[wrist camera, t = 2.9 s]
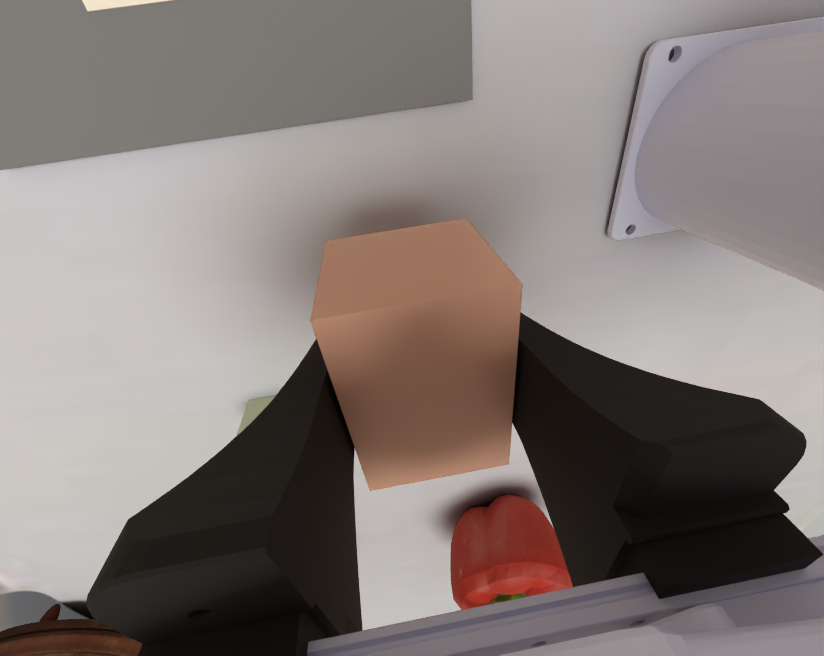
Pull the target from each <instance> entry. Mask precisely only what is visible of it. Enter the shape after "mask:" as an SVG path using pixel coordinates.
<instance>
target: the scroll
mask: <svg viewBox="0 0 824 656" xmlns="http://www.w3.org/2000/svg"><path fill="white" fill-rule="evenodd" d="M59 613H60V605H59V604H56V605H54V606H52V607H51V608H50V609H49V610H48V611H47V612H46V613H45V615H44V616H43V617H42V618H41V620H40V622H36V623H30V624H25V625H21V626H17V627H13V628H10V629H7V630H4V631H1V632H0V656H138V654H139V651H140V649H141V646H142V643H140V642H138V641H136V640H134V639H132V638H130V637H128V636H126V635H124V634H122V633H120V632H118V631H116V630H114V629H112V628H110V627H108V626H106V625H104V624H102V623H101V622H99V621H98V620H95V619H68V620H57V619H58V616H59Z"/></svg>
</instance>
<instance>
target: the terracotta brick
mask: <svg viewBox="0 0 824 656" xmlns="http://www.w3.org/2000/svg"><path fill="white" fill-rule="evenodd" d="M521 297H522V283H521V282H520V281H519V280H518V278H517V277H516V276H515V275H514V274H513V273H512V271H511V270H510V269H509V268H508V267H507V265H506V264H505V263H504V262H503V261H502V260H501V258H500V257H499V256H498V255H497V254H496V252H495V251H494V250H493V249H492V248H491V247H490V245H489V244H488V243H487V242H486V241H485V239H484V238H483V237H482V236H481V235H480V234H479V232H478V231H477V230H476V229H475V228H474V227H473V225H472V224H471V223H470V222H469V221H468V219H467V218H462V219H456V220H450V221H444V222H438V223H432V224H426V225H419V226H413V227H407V228H401V229H395V230H389V231H383V232H376V233H370V234H364V235H358V236H352V237H346V238H339V239H333V240H327V241H326V244H325V249H324V254H323V259H322V264H321V269H320V274H319V279H318V284H317V290H316V295H315V300H314V305H313V310H312V315H311V320H310V321H311V324H312V327H313V330H314V333H315V335H316V338H317V341H318V344H319V347H320V350H321V353H322V355H323V358H324V361H325V364H326V367H327V370H328V373H329V375H330V378H331V381H332V384H333V387H334V390H335V393H336V395H337V398H338V401H339V404H340V407H341V410H342V413H343V415H344V418H345V421H346V424H347V427H348V430H349V433H350V435H351V438H352V441H353V444H354V447H355V450H356V452H357V455H358V458H359V461H360V464H361V467H362V470H363V472H364V475H365V478H366V481H367V484H368V487H369V490H370V491H372V490H377V489H382V488H388V487H393V486H398V485H403V484H409V483H414V482H419V481H424V480H429V479H435V478H440V477H445V476H450V475H455V474H461V473H466V472H471V471H476V470H481V469H487V468H492V467H497V466H502V465H507V464H509V456H510V443H511V430H512V417H513V403H514V390H515V377H516V364H517V350H518V337H519V324H520V311H521Z"/></svg>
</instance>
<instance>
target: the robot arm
mask: <svg viewBox="0 0 824 656" xmlns="http://www.w3.org/2000/svg"><path fill="white" fill-rule="evenodd" d="M672 48H674V55H673V58H672V59H671V60H670V61H669V60H668V57H669V53H670V51H671V50H672ZM629 225H631V227H630V229H629V230H628V231H626V229H627V227H628V226H629ZM677 230H684V231H686V232H689V233H691V234H693V235H696V236H698V237H700V238H703V239H705V240H707V241H710V242H712V243H714V244H717V245H719V246H721V247H724V248H726V249H728V250H731V251H733V252H735V253H738V254H740V255H742V256H745V257H747V258H749V259H752V260H754V261H756V262H759V263H761V264H763V265H766V266H768V267H770V268H773V269H775V270H777V271H780V272H782V273H784V274H787V275H789V276H791V277H794V278H796V279H798V280H801V281H803V282H805V283H808V284H810V285H812V286H815V287H817V288H819V289H822V290H824V17H817V18H810V19H803V20H796V21H790V22H783V23H776V24H769V25H762V26H755V27H748V28H741V29H735V30H728V31H721V32H714V33H707V34H700V35H693V36H686V37H680V38H673V39H666V40H660V41H657V42H655V43H654V44H653V45H652V46H650V48H649V49H648V51H647V53H646V55H645V58H644V63H643V67H642V72H641V77H640V81H639V86H638V91H637V95H636V100H635V105H634V109H633V114H632V119H631V123H630V128H629V133H628V137H627V142H626V147H625V152H624V156H623V161H622V166H621V170H620V175H619V180H618V184H617V189H616V194H615V198H614V203H613V208H612V212H611V217H610V222H609V226H608V236H609V237H610V238H612V239H614V240H624V239H630V238H635V237H641V236H647V235H653V234H659V233H665V232H671V231H677ZM512 423H513V425H514V427H515V429H516V431H517V433H518V435H519V437H520V439H521V441H522V443H523V446H524V449H525V451H526V454H527V456H528V459H529V461H530V464H531V467H532V469H533V472H534V474H535V477H536V480H537V482H538V485H539V488H540V491H541V493H542V496H543V499H544V501H545V504H546V507H547V510H548V513H549V516H550V519H551V522H552V524H553V527H554V530H555V533H556V536H557V539H558V542H559V545H560V548H561V551H562V554H563V557H564V560H565V563H566V566H567V569H568V572H569V576H570V579H571V582H572V585H573V587H571V588H566V589H561V590H557V591H552V592H547V593H542V594H537V595H533V596H528V597H523V598H518V599H513V600H508V601H504V602H499V603H494V604H489V605H484V606H479V607H475V608H470V609H465V610H460V611H455V612H450V613H446V614H441V615H436V616H431V617H426V618H422V619H417V620H412V621H407V622H402V623H397V624H393V625H388V626H383V627H378V628H373V629H368V630H364V631H363V630H362V618H361V605H360V592H359V578H358V562H357V546H356V527H355V507H354V479H353V470H354V449H355V447H354V444H353V441H352V438H351V435H350V433H349V430H348V427H347V424H346V421H345V418H344V415H343V413H342V410H341V407H340V404H339V401H338V398H337V395H336V393H335V390H334V387H333V384H332V381H331V378H330V375H329V373H328V370H327V367H326V364H325V361H324V358H323V355H322V353H321V350H320V347H319V344H318V341H317V338H316V340H315V342H314V343H313V345H312V346H311V348H310V349H309V351H308V353H307V354H306V356H305V357H304V359H303V360H302V361H301V363H300V364H299V366H298V367H297V369H296V370H295V372H294V373H293V374H292V376H291V377H290V378H289V380H288V381H287V382H286V384H285V385H284V386H283V387H282V389H281V390H280V391H279V393H278V394H277V395H276V396H275V397H274V399H273V400H272V401H271V402H270V403H269V404H268V405H267V407H266V408H265V409H264V410H263V411H262V412H261V413H260V414H259V415H258V416H257V417H256V418H255V419H254V420H253V421H252V422H251V423H250V424H249V425H248V426H247V427H246V428H245V429H244V430H243V431H242V432H241V433H239V434H238V435H237V436H236V437H235V438H234V439H233V440H232V441H231V442H230V443H229V444H228V445H227V446H225V447H224V448H223V449H222V450H221V451H220V452H219V453H217V454H216V455H215V456H214V457H213V458H211V459H210V460H209V461H208V462H207V463H205V464H204V465H203V466H202V467H200V468H199V469H198V470H196V471H195V472H194V473H193V474H191V475H190V476H189V477H188V478H186V479H185V480H184V481H182V482H181V483H180V484H178V485H177V486H176V487H174V488H173V489H171V490H170V491H168V492H167V493H166V494H164V495H163V496H161V497H160V498H159V499H157V500H156V501H154V502H153V503H151V504H150V505H149V506H147V507H146V508H144V509H143V510H142V511H140V512H139V513H137V514H136V515H134V516H133V517H131V518H130V519H128V521H127V523H126V524H125V526H124V528H123V530H122V532H121V534H120V535H119V537H118V539H117V541H116V543H115V545H114V547H113V549H112V551H111V552H110V554H109V556H108V558H107V560H106V562H105V564H104V566H103V567H102V569H101V571H100V573H99V575H98V577H97V579H96V581H95V582H94V584H93V586H92V588H91V590H90V592H89V594H88V597H87V601H86V605H87V608H88V610H89V611H90V613H91V615H92V617H93V618H95V619H96V620H98V621H99V622H101V623H102V624H104V625H106V626H108V627H110V628H112V629H114V630H116V631H118V632H120V633H122V634H124V635H126V636H128V637H130V638H132V639H134V640H136V641H138V642H140V643H142V646H141V649H140V651H139V654H138V656H824V535H822V536H818V537H812V538H807V537H806V536H805V535H804V534H803V533H802V532H801V531H800V530H799V529H798V528H797V527H796V526H795V525H794V524H793V523H792V522H791V521H790V520H789V519H788V518H787V517H786V516H785V515H784V514H783V513H786V512H787V511H788V510H789V506H788V504H787V503H786V502H785V501H784V500H783V499H782V498H781V497H780V496H779V495H778V494H777V493H776V492H775V491H774V489H775V488H776V487H777V486H778V485H779V484H780V483H781V481H782V480H783V479H784V478H785V477H786V476H787V475H788V474H789V473H790V471H791V470H792V469H793V468H794V467H795V466H796V465H797V463H798V462H799V461H800V459H801V458H802V457H803V455H804V452H805V449H806V439H805V436H804V434H803V433H802V432H801V431H800V430H798V429H797V428H796V427H794V426H793V425H792V424H791V423H789V422H788V421H787V420H785V419H784V418H783V417H782V416H780V415H779V414H778V413H776V412H775V411H774V410H773V409H771V408H770V407H769V406H767V405H766V404H765V403H764V402H762V401H761V400H759V399H755V398H750V397H746V396H741V395H736V394H732V393H727V392H722V391H718V390H713V389H709V388H704V387H700V386H696V385H692V384H688V383H685V382H681V381H677V380H673V379H670V378H666V377H663V376H660V375H656V374H653V373H650V372H646V371H643V370H641V369H638V368H635V367H632V366H629V365H626V364H623V363H620V362H618V361H615V360H612V359H610V358H607V357H605V356H603V355H600V354H598V353H595V352H593V351H591V350H588V349H586V348H584V347H582V346H580V345H578V344H575V343H573V342H571V341H570V340H568V339H566V338H564V337H562V336H560V335H558V334H556V333H554V332H552V331H551V330H549V329H547V328H545V327H544V326H542V325H540V324H538V323H537V322H535V321H533V320H532V319H530V318H529V317H527V316H525V315H524V314H522V313H521V312H520V324H519V337H518V350H517V364H516V377H515V390H514V403H513V417H512Z"/></svg>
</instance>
